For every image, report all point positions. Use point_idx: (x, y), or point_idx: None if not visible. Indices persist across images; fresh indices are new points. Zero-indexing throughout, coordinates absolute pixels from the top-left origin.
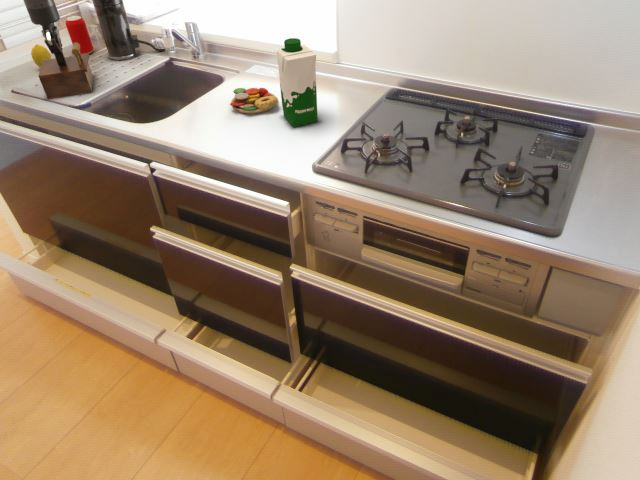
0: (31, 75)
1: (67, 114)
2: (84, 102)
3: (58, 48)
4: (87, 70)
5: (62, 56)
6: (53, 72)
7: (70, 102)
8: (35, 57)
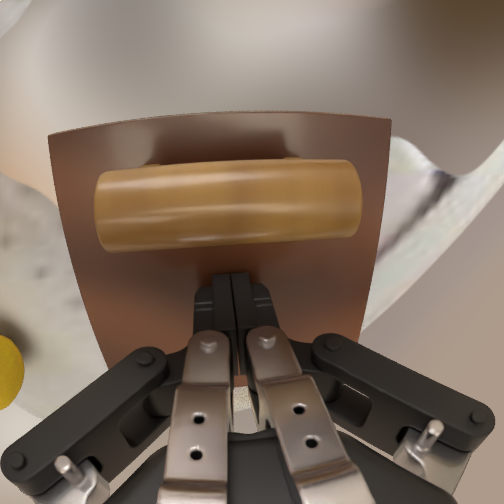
0: (64, 375)
1: (469, 215)
2: (417, 157)
3: (385, 361)
4: (372, 116)
5: (254, 311)
6: (345, 319)
7: (391, 212)
8: (16, 392)
